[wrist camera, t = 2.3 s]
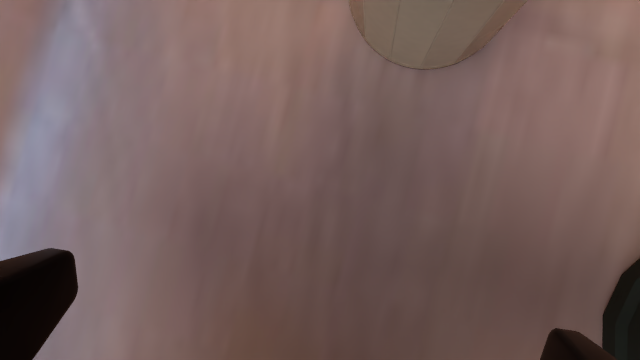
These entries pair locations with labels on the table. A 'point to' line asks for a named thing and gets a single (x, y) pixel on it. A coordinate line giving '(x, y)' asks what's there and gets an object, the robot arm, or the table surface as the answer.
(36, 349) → the robot arm
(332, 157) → the table surface
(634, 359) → the mug
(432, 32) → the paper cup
